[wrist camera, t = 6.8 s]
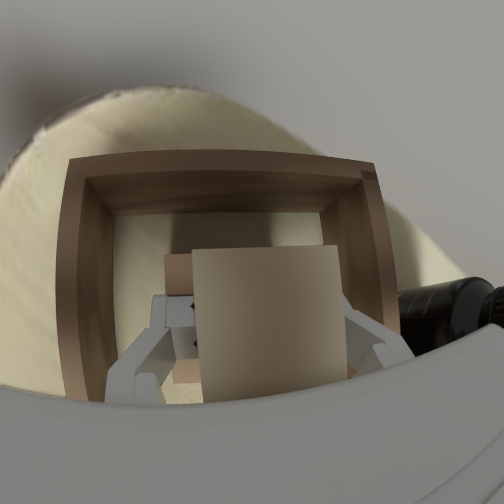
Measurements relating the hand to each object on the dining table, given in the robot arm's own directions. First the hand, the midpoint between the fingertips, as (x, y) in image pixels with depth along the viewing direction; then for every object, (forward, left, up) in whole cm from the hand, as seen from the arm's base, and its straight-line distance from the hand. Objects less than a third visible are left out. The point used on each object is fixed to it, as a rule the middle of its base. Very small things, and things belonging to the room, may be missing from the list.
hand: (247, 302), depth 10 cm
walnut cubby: (0, +1, -7) cm, 7 cm away
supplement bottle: (-14, +4, -8) cm, 16 cm away
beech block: (0, +1, -4) cm, 4 cm away
